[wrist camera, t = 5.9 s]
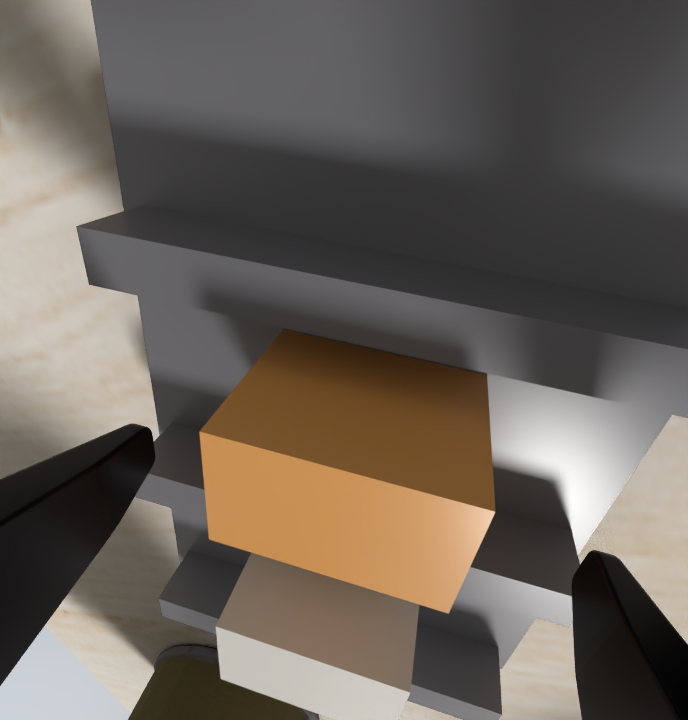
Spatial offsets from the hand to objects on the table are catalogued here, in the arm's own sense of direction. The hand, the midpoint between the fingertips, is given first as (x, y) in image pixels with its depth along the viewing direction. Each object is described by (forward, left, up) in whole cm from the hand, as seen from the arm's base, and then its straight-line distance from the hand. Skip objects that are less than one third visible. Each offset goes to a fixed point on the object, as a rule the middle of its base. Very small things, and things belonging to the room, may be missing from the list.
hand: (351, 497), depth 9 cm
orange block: (0, 0, -3) cm, 3 cm away
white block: (0, +6, -3) cm, 7 cm away
